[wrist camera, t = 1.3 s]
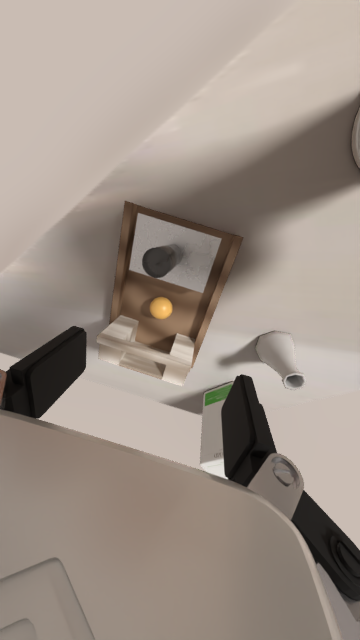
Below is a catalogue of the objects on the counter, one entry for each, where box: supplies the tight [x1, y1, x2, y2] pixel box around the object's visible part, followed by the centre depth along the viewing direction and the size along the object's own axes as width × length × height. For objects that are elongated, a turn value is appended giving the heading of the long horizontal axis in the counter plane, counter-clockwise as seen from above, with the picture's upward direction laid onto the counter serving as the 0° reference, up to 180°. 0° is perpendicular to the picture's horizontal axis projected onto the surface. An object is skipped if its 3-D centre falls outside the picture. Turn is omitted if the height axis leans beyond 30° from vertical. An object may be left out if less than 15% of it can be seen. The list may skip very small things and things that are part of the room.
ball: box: [150, 297, 172, 319], centre depth 34 cm, size 4×4×4 cm
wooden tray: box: [96, 201, 243, 386], centre depth 31 cm, size 25×18×10 cm
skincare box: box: [200, 382, 234, 479], centre depth 37 cm, size 8×7×16 cm
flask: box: [255, 331, 306, 390], centre depth 33 cm, size 7×7×10 cm
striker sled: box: [129, 213, 221, 293], centre depth 25 cm, size 8×12×13 cm, turn 74°
